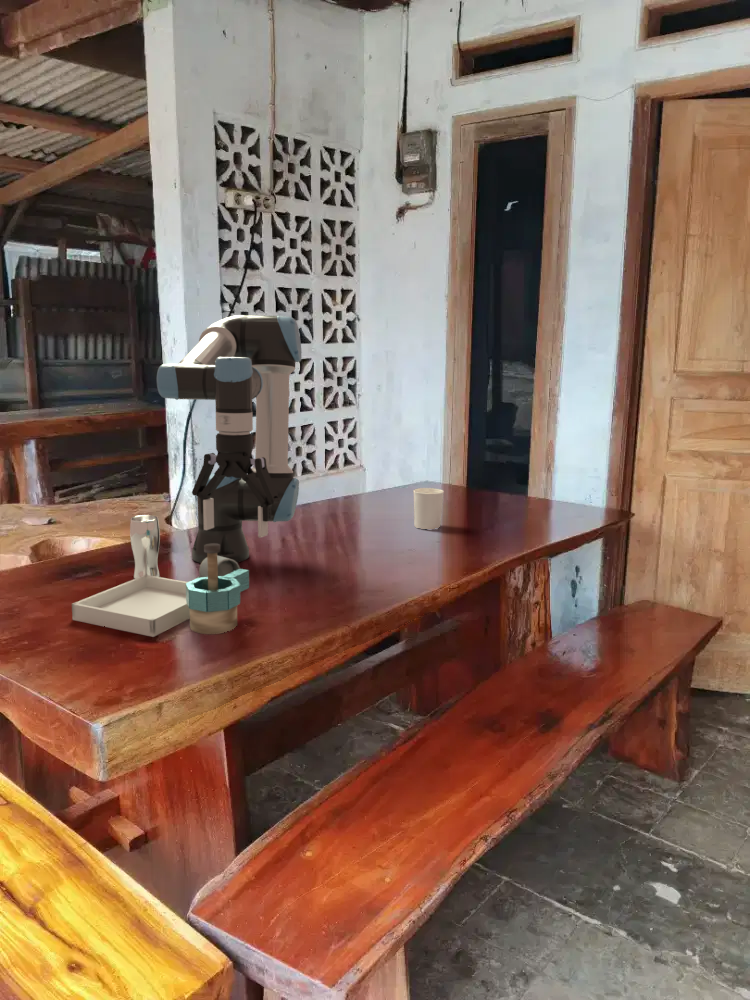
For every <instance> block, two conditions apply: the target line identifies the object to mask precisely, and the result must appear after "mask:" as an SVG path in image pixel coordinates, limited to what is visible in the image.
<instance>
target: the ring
mask: <svg viewBox="0 0 750 1000" xmlns="http://www.w3.org/2000/svg"><path fill="white" fill-rule="evenodd" d="M196 578H197V577H196ZM196 578H194V579H192V580H190V581H187V582H188V583H186V603H187V605H188V607H189V608H190V609H193V610H199V611H204V612H207V611H208V612H213V611H222V610H228V609H231V608H233V607H235V606H237V607H238V605H240V604H241V593H242V592H244V591H246V590H248V589H249V588H250V569H243V568H240V569H238V570H236V571H234V572H231V573H229V574H227V575H225V576H218V590H208V577H201V578H197V579H196Z"/></svg>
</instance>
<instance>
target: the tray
mask: <svg viewBox="0 0 750 1000" xmlns="http://www.w3.org/2000/svg"><path fill="white" fill-rule="evenodd" d="M188 582H189V581H184V580H177V579H173V578H172V579H171V578H166V577H161V576H159V577H156V576H150V575H143V576H141V577H138V578H136V579H135V578H133V579H131V580H128V581H126V582H124V583H121V584H119V585H117V586H114V587H111V588H108V589H106V590H103V591H101V592H98V593H96V594H93V595H91V596H89V597H86V598H83V599H80V600H79V601H75V602H73V603H71V612H72V613H71V615H72V617H71V618H72V621H76V622H80V623H81V622H82V623H86V624H91V625H95V626H100V627H104V626H105V627H104V628H109V629H113V630H117V631H118V630H119V631H122V632H127V633H132V634H138V635H142V636H147V637H152V638H154V637H156V636H158V635H160V634H162V633H164V632H166V631H167V630H170V629H171V628H173V627H176V626H177V625H180V624H182V623H184V622H185V621H188V620H190V608H189V607H188V605H187V603H186V583H188Z"/></svg>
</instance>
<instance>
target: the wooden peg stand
mask: <svg viewBox="0 0 750 1000" xmlns="http://www.w3.org/2000/svg"><path fill="white" fill-rule="evenodd" d="M204 552H205V553H207V564H208V590H218V563H217V553H218V552H220V544H215V543H211V544H206V545H204ZM236 626H237V627H238V605H237V606H235V607H233V608H231V609H228V610H222V611H213V612H208V611H207V612H204V611H199V610H193V609H190V618H189V627H190V630H191V631H193V632H194V633H197V634H202V635H220V634H225V633H228V632H227V631H229V632H231V631H233V630H235V629H236V628H237V627H236ZM235 627H236V628H235ZM234 628H235V629H234ZM232 629H233V630H232ZM230 630H231V631H230ZM224 632H225V633H224Z"/></svg>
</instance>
